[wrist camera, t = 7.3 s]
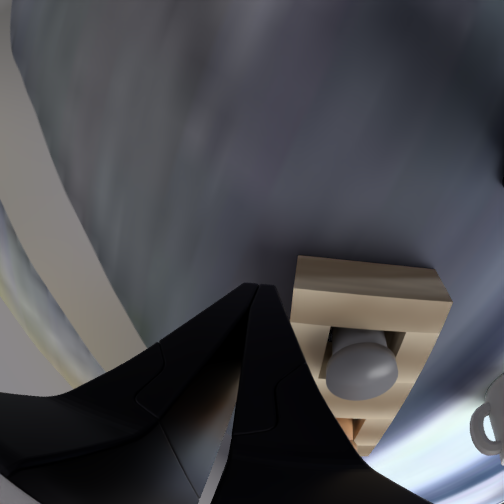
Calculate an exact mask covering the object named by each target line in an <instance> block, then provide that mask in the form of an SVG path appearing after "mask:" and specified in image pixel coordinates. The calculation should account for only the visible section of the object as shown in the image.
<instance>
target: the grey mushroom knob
mask: <svg viewBox="0 0 504 504" xmlns="http://www.w3.org/2000/svg"><path fill="white" fill-rule="evenodd" d="M397 378H398V368H397V363H396V358H395V355H394V353H393V352H392V351H391V350H390V349H389V348H388V347H387V343H386V338H385V333H384V331H383V330H369V329H356V328H344V327H333V326H332V357H331V358H330V359H329V361H328V363H327V367H326V385H327V388H328V389H329V391H330V392H331V393H332V394H334V395H335V396H337V397H339V398H342V399H345V400H352V401H360V400H367V399H371V398H375V397H377V396H380V395H381V394H383V393H385V392H386V391H388V390H389V389H390V388H391V387H392V386H393V385H394V384H395V382H396V380H397Z"/></svg>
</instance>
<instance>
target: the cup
mask: <svg viewBox="0 0 504 504" xmlns="http://www.w3.org/2000/svg"><path fill="white" fill-rule="evenodd" d="M488 415H489V418H490V422H491V425H492V429H493V432H494V436H495V439H496V441H490V440H489V439H488V438H487V436H486V434H485V431H484V427H483V421H484V417H486V416H488ZM470 434H471V438H472V441H473V443H474V445H475V447H476V448H477V449H478V450H479V451H480V452H481V453H482V454H485V455H487V456H489V455H497V454H500V459H501V464H502V465H503V466H504V373H503V374H502V375H501V376H500V377H499V378H497V379H496V380H495V381H494V382H493V383H492V385H491V386H490V387H489V389H488V391H487V393H486V395H485V403H484V404H482V405H481V406H480V407H478V408H477V409H476V410H475V411H474V413H473V415H472V416H471V421H470Z"/></svg>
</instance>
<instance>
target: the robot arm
mask: <svg viewBox="0 0 504 504" xmlns="http://www.w3.org/2000/svg"><path fill="white" fill-rule="evenodd" d="M503 187H504V177H503ZM235 404H236V408H235V415H234V422H233V429H232V439H231V444H230V450H229V455H228V459H227V462H226V465H225V468H224V471H223V473H222V476H221V479H220V481H219V483H218V486H217V489H216V491H215V494H214V496H213V499H212V501H211V504H433V503H431V502H429V501H427V500H426V499H424V498H422V497H420V496H418V495H416V494H414V493H413V492H411V491H409V490H407V489H405V488H404V487H402V486H400V485H398V484H397V483H395V482H393V481H391V480H390V479H388V478H386V477H385V476H383V475H381V474H380V473H378V472H376V471H375V470H374V469H372V468H371V467H370V466H369V465H368V464H367V463H366V462H365V461H364V460H363V459H362V458H361V456H360V455H359V454H358V452H357V451H356V449H355V448H354V446H353V445H352V443H351V442H350V440H349V438H348V437H347V435H346V434H345V432H344V431H343V429H342V427H341V426H340V424H339V423H338V421H337V419H336V418H335V416H334V415H333V413H332V411H331V410H330V408H329V407H328V405H327V403H326V401H325V399H324V398H323V396H322V394H321V392H320V391H319V389H318V386H317V384H316V382H315V380H314V378H313V376H312V373H311V371H310V369H309V366H308V364H307V362H306V359H305V357H304V354H303V352H302V350H301V347H300V345H299V342H298V340H297V337H296V335H295V333H294V330H293V328H292V325H291V323H290V320H289V318H288V316H287V313H286V311H285V308H284V306H283V304H282V301H281V299H280V296H279V294H278V292H277V289H276V287H275V286H274V285H266V284H261V285H260V286H259V285H258V284H255V283H243V284H241V285H240V286H238V287H237V288H236V289H234V290H233V291H231V292H230V293H228V294H227V295H226V296H224V297H223V298H221V299H220V300H218V301H217V302H215V303H214V304H212V305H211V306H210V307H208V308H207V309H205V310H204V311H202V312H201V313H199V314H198V315H196V316H195V317H194V318H192V319H191V320H189V321H188V322H186V323H185V324H183V325H182V326H180V327H179V328H177V329H176V330H174V331H173V332H172V333H170V334H169V335H167V336H166V337H164V338H163V339H161V340H160V341H159V343H158V342H157V343H155V344H154V345H152V346H151V347H149V348H148V349H146V350H145V351H143V352H141V353H140V354H138V355H137V356H135V357H133V358H132V359H130V360H128V361H127V362H125V363H123V364H121V365H119V366H118V367H116V368H114V369H113V370H111V371H108V372H106V373H105V374H103V375H101V376H99V377H97V378H95V379H93V380H91V381H89V382H87V383H85V384H83V385H81V386H79V387H77V388H75V389H73V390H71V391H69V392H67V393H64V394H61V395H57V396H49V397H39V396H28V395H18V394H9V393H2V392H0V504H198V502H199V498H200V497H201V494H202V492H203V489H204V486H205V484H206V482H207V479H208V476H209V474H210V471H211V469H212V466H213V463H214V461H215V458H216V455H217V453H218V450H219V447H220V445H221V442H222V439H223V437H224V434H225V431H226V429H227V426H228V423H229V420H230V418H231V415H232V412H233V409H234V407H235Z"/></svg>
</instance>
